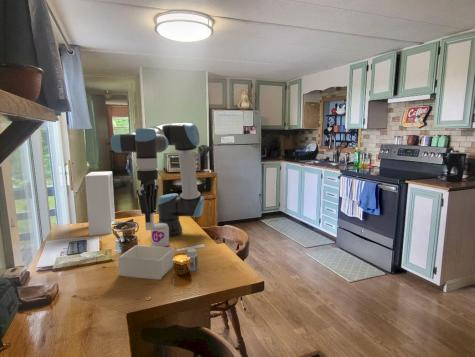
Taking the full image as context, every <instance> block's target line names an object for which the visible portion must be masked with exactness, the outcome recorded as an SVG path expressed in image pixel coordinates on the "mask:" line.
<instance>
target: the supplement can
mask: <svg viewBox="0 0 475 357" xmlns="http://www.w3.org/2000/svg"><path fill="white" fill-rule="evenodd" d="M150 235H151V236H150V237H151V240H150V241H151V246H154V247H169V248H170V237H169V227H168V225H167V224H166V223H159V222H157V223H156V222H155V223H154V230H150Z"/></svg>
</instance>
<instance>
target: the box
mask: <svg viewBox="0 0 475 357" xmlns="http://www.w3.org/2000/svg"><path fill="white" fill-rule="evenodd" d="M84 180H85V193H86V207H87V208H86V210H87V211H86V212H87V225H88V235H89V236H98V235H108V234H109V235H111V234H113V232H112V230H111V226H112V224H113V223H114V222H115V223H116V213H115V212H116V211H115V197H114V196H115V195H114V181H113V180H114V179H113V171H112V170H111V171H109V170H108V171H106V170H105V171H91V172H89V173H87V174H85V175H84Z"/></svg>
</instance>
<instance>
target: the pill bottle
mask: <svg viewBox="0 0 475 357" xmlns="http://www.w3.org/2000/svg"><path fill="white" fill-rule="evenodd" d="M186 256H187V257H190V258H191V262H190V272H194V271H196V270H198V269H199V267H198V266H199V265H198V260H199V259H198V254H197V249H196V248H188V249H187V250H186ZM186 256H185V257H186Z"/></svg>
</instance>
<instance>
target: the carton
mask: <svg viewBox="0 0 475 357" xmlns="http://www.w3.org/2000/svg"><path fill="white" fill-rule="evenodd" d="M119 256H121V257H117V258H118V275H119V277H126V278H127V277H128V278H136V279H148V280H149V279H150V280H158V279H159V281H161V280H162V277H163V276H164V275H165V274H168V272H170V270H171V269H173V267H174V266H173V261H172V259H173V258H174V259H175V247H170V246H169V247H154V246H152V245H140V244H139V245H138V244H136V245H134V246H133V247H131V248H130V249H128V250H127V251H125V252H124V253H122V254H121V255H119ZM122 257H134V258H147V259H133V258H122ZM149 259H158V260H149ZM165 276H166V275H165ZM165 276H164V277H165ZM164 277H163V278H164Z"/></svg>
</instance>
